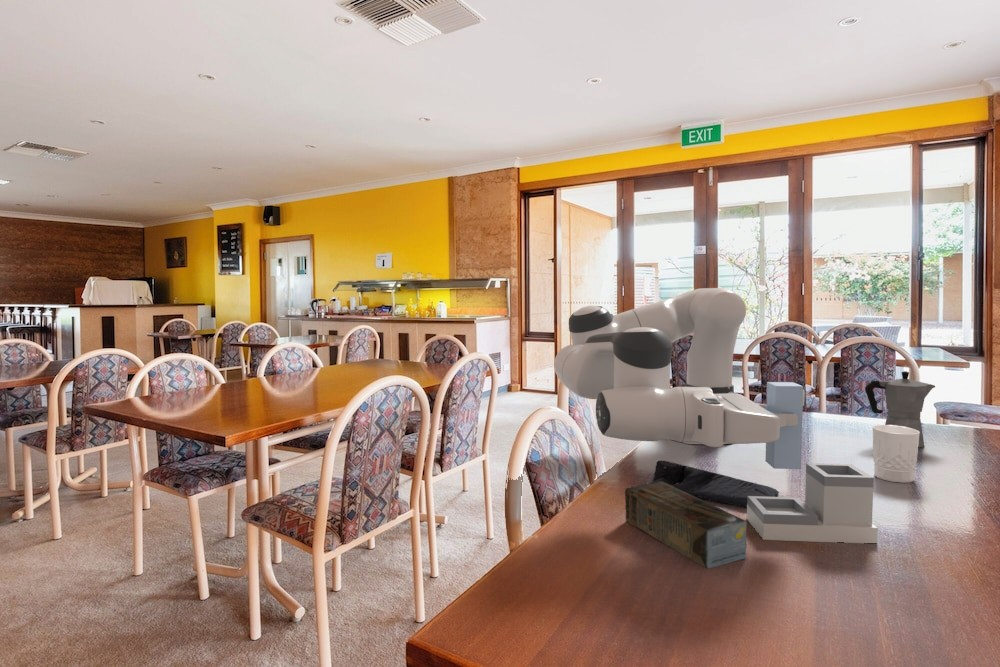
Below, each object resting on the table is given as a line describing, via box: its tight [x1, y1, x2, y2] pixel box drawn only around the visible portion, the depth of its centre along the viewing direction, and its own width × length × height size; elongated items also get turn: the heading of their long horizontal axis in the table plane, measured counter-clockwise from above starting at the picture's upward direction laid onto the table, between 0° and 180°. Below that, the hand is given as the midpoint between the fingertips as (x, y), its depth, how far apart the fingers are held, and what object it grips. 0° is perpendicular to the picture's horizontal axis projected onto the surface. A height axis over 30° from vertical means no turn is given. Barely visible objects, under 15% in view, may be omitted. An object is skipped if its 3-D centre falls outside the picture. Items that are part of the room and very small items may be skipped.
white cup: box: [872, 424, 920, 484], centre depth 118 cm, size 8×8×10 cm
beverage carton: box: [624, 481, 748, 569], centre depth 91 cm, size 8×19×7 cm, turn 24°
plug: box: [764, 381, 806, 470], centre depth 92 cm, size 5×4×13 cm
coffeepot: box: [864, 371, 936, 448], centre depth 144 cm, size 15×9×18 cm, turn 79°
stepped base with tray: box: [746, 462, 879, 544], centre depth 93 cm, size 16×8×10 cm, turn 83°
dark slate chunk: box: [648, 459, 780, 507], centre depth 113 cm, size 15×22×5 cm
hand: (789, 415), depth 92 cm, fingers closed on plug, 4 cm apart
